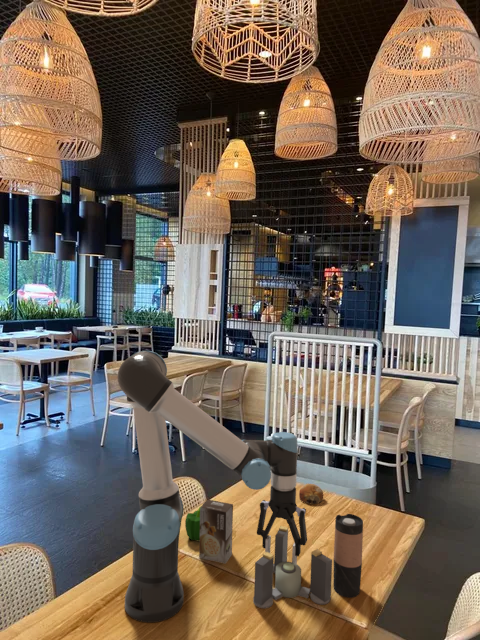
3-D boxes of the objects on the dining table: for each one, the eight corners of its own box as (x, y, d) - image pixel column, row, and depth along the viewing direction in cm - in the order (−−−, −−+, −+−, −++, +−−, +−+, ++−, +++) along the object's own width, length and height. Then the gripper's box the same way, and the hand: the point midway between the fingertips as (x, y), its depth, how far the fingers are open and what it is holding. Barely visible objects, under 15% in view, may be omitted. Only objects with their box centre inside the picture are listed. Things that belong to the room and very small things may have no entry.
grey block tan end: (286, 577, 128) (287, 536, 128) (269, 572, 130) (270, 532, 130) (291, 567, 133) (292, 528, 133) (274, 563, 135) (276, 524, 135)
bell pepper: (194, 547, 143) (195, 516, 143) (180, 536, 149) (181, 507, 149) (215, 539, 149) (216, 509, 148) (200, 529, 155) (201, 501, 154)
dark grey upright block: (265, 611, 113) (267, 565, 113) (249, 602, 116) (250, 558, 116) (276, 600, 118) (278, 556, 117) (260, 592, 121) (261, 549, 120)
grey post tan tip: (334, 599, 119) (335, 556, 118) (320, 607, 116) (322, 562, 115) (319, 589, 123) (320, 547, 123) (306, 596, 120) (307, 553, 119)
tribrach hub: (274, 605, 116) (274, 580, 116) (259, 580, 127) (260, 557, 126) (313, 598, 120) (314, 573, 119) (296, 574, 130) (297, 551, 130)
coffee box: (232, 554, 140) (234, 503, 139) (225, 564, 134) (227, 512, 133) (206, 547, 143) (207, 498, 143) (197, 558, 137) (199, 506, 137)
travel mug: (355, 602, 118) (358, 529, 118) (328, 592, 122) (331, 521, 122) (364, 588, 125) (366, 518, 124) (337, 578, 129) (340, 510, 128)
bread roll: (324, 508, 182) (328, 488, 185) (316, 506, 174) (320, 485, 177) (302, 502, 188) (306, 482, 190) (293, 499, 180) (297, 479, 182)
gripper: (320, 487, 130) (317, 564, 131) (255, 475, 138) (252, 548, 139) (314, 497, 124) (311, 578, 124) (246, 484, 131) (244, 560, 132)
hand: (280, 562), depth 131 cm, fingers open, 8 cm apart
